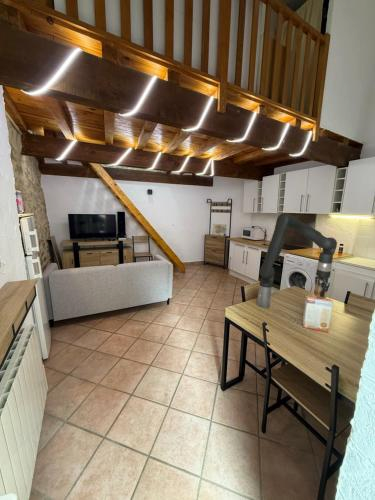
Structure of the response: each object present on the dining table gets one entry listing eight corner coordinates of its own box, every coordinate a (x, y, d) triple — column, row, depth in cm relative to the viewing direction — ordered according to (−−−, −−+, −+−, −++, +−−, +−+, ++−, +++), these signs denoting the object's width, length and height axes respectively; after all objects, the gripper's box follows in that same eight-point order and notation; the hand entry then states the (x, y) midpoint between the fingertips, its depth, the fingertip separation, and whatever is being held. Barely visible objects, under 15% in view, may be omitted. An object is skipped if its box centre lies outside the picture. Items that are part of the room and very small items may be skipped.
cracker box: (325, 328, 134) (330, 298, 130) (328, 332, 128) (333, 302, 124) (301, 323, 139) (306, 294, 135) (303, 327, 133) (307, 298, 129)
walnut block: (317, 297, 127) (319, 286, 126) (313, 294, 132) (315, 284, 131) (325, 298, 126) (327, 287, 125) (321, 294, 131) (323, 284, 130)
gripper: (312, 265, 133) (308, 290, 137) (323, 272, 120) (318, 298, 123) (324, 266, 132) (320, 291, 136) (336, 273, 118) (332, 300, 122)
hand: (319, 294), depth 129 cm, fingers closed on walnut block, 5 cm apart
